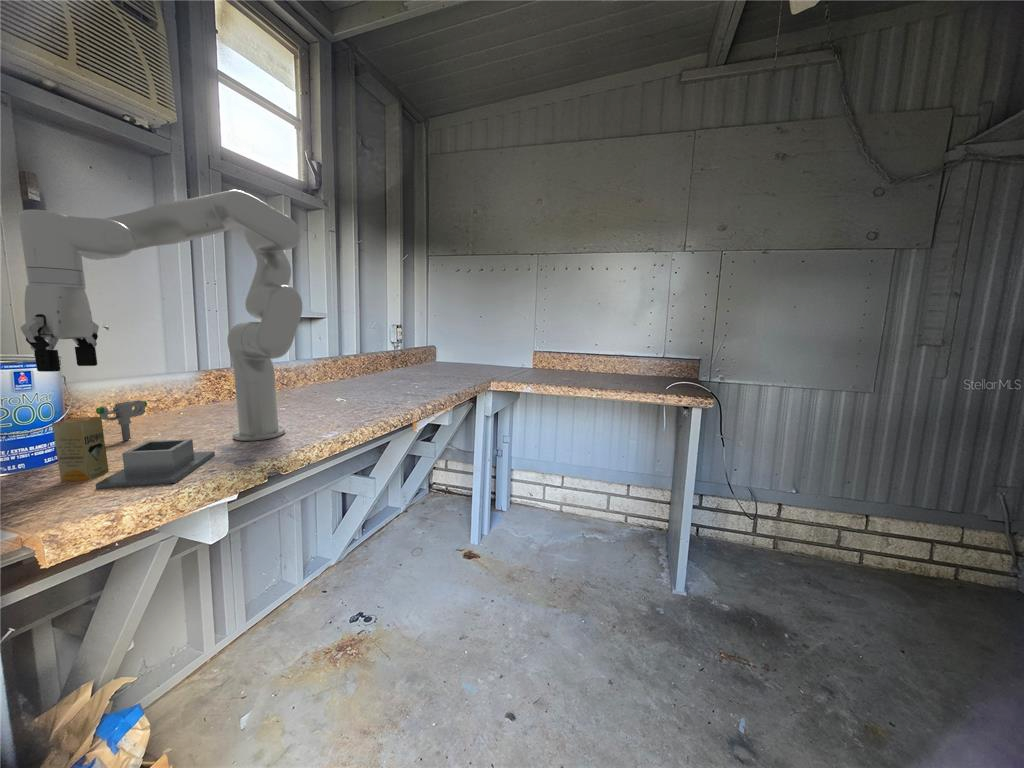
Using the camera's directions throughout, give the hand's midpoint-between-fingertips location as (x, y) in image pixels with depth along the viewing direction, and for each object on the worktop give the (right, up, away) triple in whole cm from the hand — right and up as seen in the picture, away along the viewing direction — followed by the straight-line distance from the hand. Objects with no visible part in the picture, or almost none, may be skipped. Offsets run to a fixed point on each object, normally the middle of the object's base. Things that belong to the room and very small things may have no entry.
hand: (69, 368), depth 83 cm
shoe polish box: (0, -22, +4) cm, 23 cm away
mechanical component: (-15, -18, +29) cm, 37 cm away
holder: (+12, -22, +8) cm, 26 cm away
